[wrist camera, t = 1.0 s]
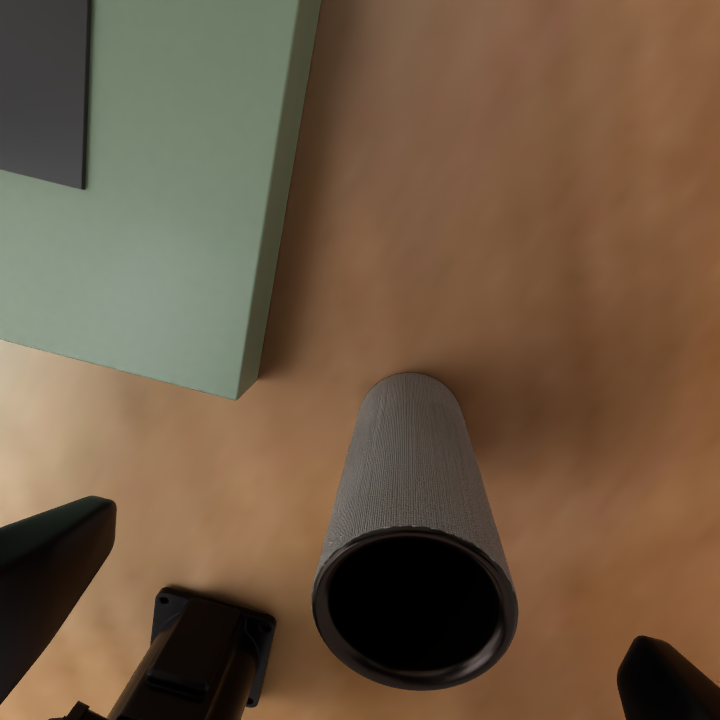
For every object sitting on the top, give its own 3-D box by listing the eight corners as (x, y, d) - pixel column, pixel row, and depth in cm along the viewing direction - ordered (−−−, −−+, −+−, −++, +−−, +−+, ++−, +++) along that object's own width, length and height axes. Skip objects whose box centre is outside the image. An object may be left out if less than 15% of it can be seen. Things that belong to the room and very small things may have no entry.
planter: (467, 460, 20) (528, 691, 10) (368, 470, 20) (331, 697, 10) (455, 364, 18) (510, 518, 9) (350, 378, 19) (289, 537, 9)
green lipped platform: (257, 380, 20) (194, 445, 14) (-79, 294, 20) (-277, 320, 14) (330, -53, 15) (281, -237, 9) (-114, -153, 15) (-436, -389, 9)
